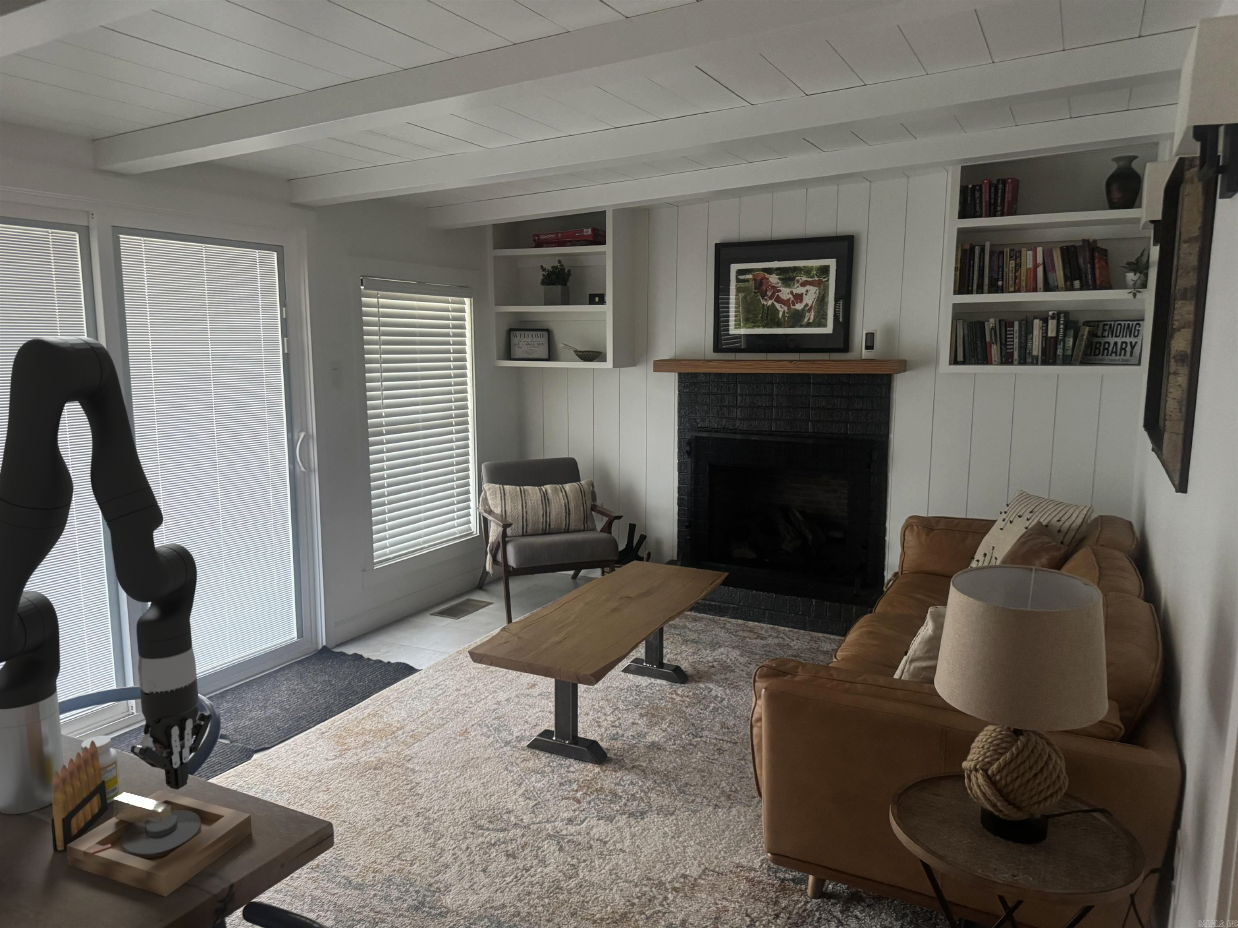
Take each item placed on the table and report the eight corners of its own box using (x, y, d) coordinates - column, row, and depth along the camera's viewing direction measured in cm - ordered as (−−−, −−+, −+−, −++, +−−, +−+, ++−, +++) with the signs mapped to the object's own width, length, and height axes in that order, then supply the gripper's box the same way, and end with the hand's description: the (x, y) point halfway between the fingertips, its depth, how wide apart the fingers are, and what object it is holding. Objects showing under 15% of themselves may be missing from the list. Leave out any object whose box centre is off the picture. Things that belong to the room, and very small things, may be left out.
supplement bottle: (86, 791, 132) (81, 735, 130) (124, 786, 133) (119, 731, 132) (76, 810, 127) (70, 752, 125) (115, 804, 128) (110, 747, 127)
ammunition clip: (66, 852, 117) (58, 774, 115) (52, 852, 116) (45, 774, 115) (108, 809, 127) (102, 737, 125) (96, 809, 127) (89, 737, 125)
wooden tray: (66, 865, 114) (64, 844, 113) (161, 807, 128) (159, 788, 127) (164, 897, 108) (162, 875, 107) (251, 832, 122) (250, 812, 121)
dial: (216, 825, 120) (214, 795, 120) (158, 866, 111) (155, 834, 110) (151, 807, 125) (148, 778, 124) (89, 844, 115) (86, 813, 115)
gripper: (186, 659, 129) (194, 761, 132) (109, 692, 117) (120, 804, 119) (223, 665, 126) (231, 769, 129) (148, 700, 114) (158, 814, 117)
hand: (177, 786), depth 124 cm, fingers closed
